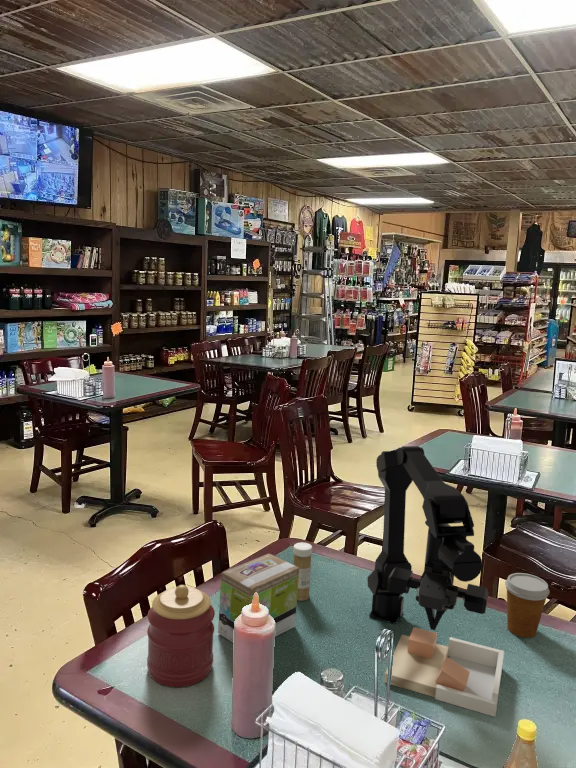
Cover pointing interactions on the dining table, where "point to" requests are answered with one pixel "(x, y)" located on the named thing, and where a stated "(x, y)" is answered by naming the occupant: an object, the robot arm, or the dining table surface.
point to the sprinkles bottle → (303, 568)
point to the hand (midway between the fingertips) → (433, 628)
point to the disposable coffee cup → (525, 603)
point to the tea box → (259, 592)
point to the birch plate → (416, 668)
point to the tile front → (452, 675)
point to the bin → (475, 677)
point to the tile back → (422, 642)
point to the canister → (180, 637)
